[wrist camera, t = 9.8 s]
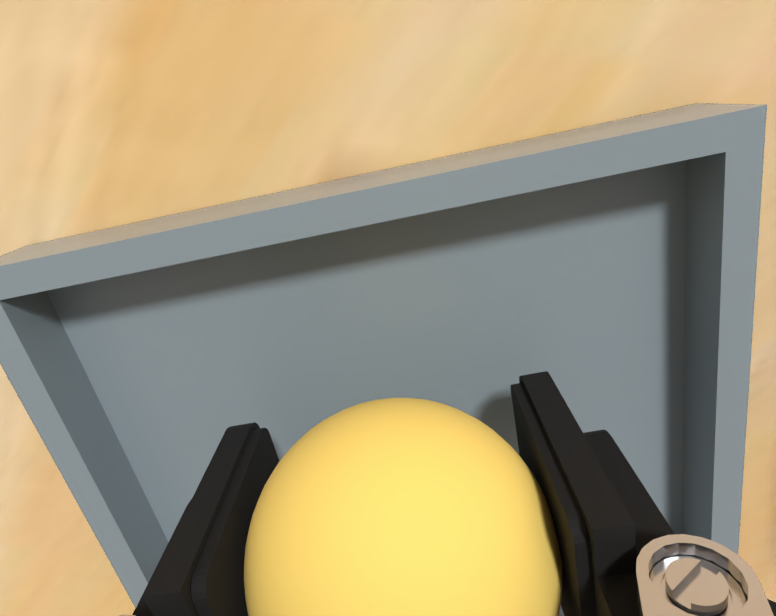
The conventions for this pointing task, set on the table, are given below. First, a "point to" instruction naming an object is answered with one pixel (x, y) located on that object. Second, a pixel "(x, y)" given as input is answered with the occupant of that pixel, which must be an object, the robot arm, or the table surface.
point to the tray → (409, 316)
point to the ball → (402, 521)
